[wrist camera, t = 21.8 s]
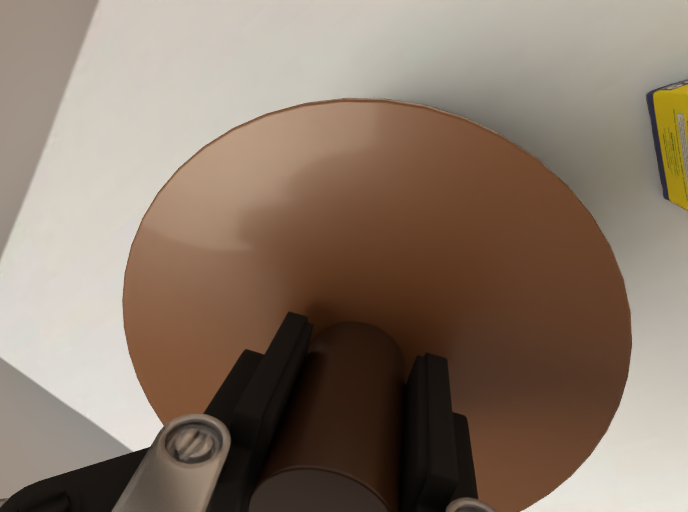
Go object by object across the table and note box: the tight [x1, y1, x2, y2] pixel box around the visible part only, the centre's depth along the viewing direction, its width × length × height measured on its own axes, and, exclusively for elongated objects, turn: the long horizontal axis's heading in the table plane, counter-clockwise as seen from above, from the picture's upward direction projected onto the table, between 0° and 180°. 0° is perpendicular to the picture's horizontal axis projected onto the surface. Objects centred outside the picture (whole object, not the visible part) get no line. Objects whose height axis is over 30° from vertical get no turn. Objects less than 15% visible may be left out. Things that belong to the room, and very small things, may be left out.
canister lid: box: [122, 98, 632, 512], centre depth 11 cm, size 14×14×6 cm
